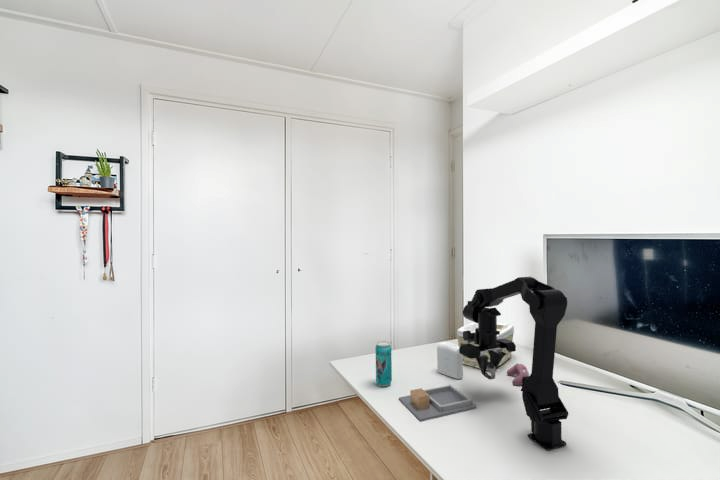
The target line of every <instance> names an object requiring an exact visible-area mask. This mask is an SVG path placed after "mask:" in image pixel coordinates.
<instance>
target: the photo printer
mask: <svg viewBox="0 0 720 480" xmlns="http://www.w3.org/2000/svg"><path fill="white" fill-rule="evenodd" d="M436 352H437V353H436V357H437V362H436V363H437V372H438V373H439V374H441V375H442V374H443V375H444V376H446V377H451V378H453V379H456V380H461V379H463V377H464V364H463V355H462V354H460V353H459V346H458V345H457V344H456V343H454V342H453V343H452V342H448V341H442V342H438V344H437V347H436Z"/></svg>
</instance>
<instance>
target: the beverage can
mask: <svg viewBox="0 0 720 480" xmlns="http://www.w3.org/2000/svg"><path fill="white" fill-rule="evenodd" d="M375 343H376V344H375V345H376V346H375V381H376V383H377V385H378V386H379V385H380V386H379V387H381V386H388V385H389V386H390V385H391V384H392V381H393V380H392V379H393V377H392V376H393V375H392V374H393V372H392V371H393V370H392V346H391V342H389V341H385V340H382V341H381V340H380V341H377V342H375ZM389 386H388V387H389Z"/></svg>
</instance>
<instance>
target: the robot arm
mask: <svg viewBox="0 0 720 480" xmlns="http://www.w3.org/2000/svg"><path fill="white" fill-rule="evenodd" d="M518 295H520V296H521V299H522V301H524V302H525V304H527V305H528V307H529V313H530V316H531V317H532V320H533V322H534V336H533V346H532V347H533V348H532V361H531V362H532V364H531V373H530V374H529V376H526V377H523V378H522V384H521V389H520V391H521V394H522V396H521V398H522V400H523V406H524V409H525V410H524V411H525V414H526V416H527V417H529V420H530V423H531V424H530V427H531V428H530V432H531V433H530V432H529V433H528V434H527V437H528V438H529V439H531V440H532V441H534V442H535V443H536V444H538V445H540V446H541V447H542V448H544V449H545V450H547V451H550V450H554V449H557V448H560V447H564V446H566V445H567V442H566V441H565V440H563V439H562V421H561V420H567V419H568V417H569V412H568V410H567V408H566V406H565V404H564V403H563V401H562V399H561V398H560V395H559V387H558V385H557V383H556V382H555V380H554V368H555V367H554V365H555V354H556V352H555V351H556V343H557V341H556V340H557V333H558V331H557V329H558V325H559V324H560V322H561V321H562V320H563V319H564V317H565V315H566V311H567V307H568V298H567V296H566V295H565V294H564V293H563V292H562V291H561V290H560V289H556V288H554V287H553V286H552V285H549V284H547V283H544V282H542V281H540V280H537V278H535V277H532V276H521V277H520V276H519V277H517V278H515V279H513V280H511V281H508V282H506V283H503V284H500V285H498V286H496V287H495V286H494V287H492V288H490V287H489V288H481V289H476V290H475V293H474V295H473V297H472V299H471V300H467V304H466V305H465V306H464V307H463V310H462V316H463V317H464V318H465V319H467V320H469V321H471V322H475V323H478V328H476V329H475V333H471V332H470V331H463V339H464V340H465V341H467V340H468V343H471V342H474V344H478V345H479V346H474V345H472V344H463V345H461V346H460V347H459V353H460V354H462V355H464V356H466V357H468V358H471V359H472V358H476V360H477V362H478V365H479V367H480V368H479V369H480V373H481V375H483V376H484V375H485V373H486V372H487V370H486V368H487V362H488V357H487V356H485V351H488V352H489V355H490V362H491V363H493V364H494V365H495V371H497V369H498V367H499V366H498V365H499V363H500V361H501V360H502V358H503V357H504V356H505V355H506V353H504V352H503V348H506V350H507V351H508V352H511V353H513V352H516V350H517V349H516V348H517V346H516V344H515V342H514V341H509V340H507V339H504V338H503V339H497V335H499V334H500V331H501V330H498V329H497V322H498V321H497V317H500V316H501V315H502V313H501V311H499V310H498V309H497V306H499V305H500V304H502V303H503V302H504V300H506V299H508V298H511V297H514V296H518Z"/></svg>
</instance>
